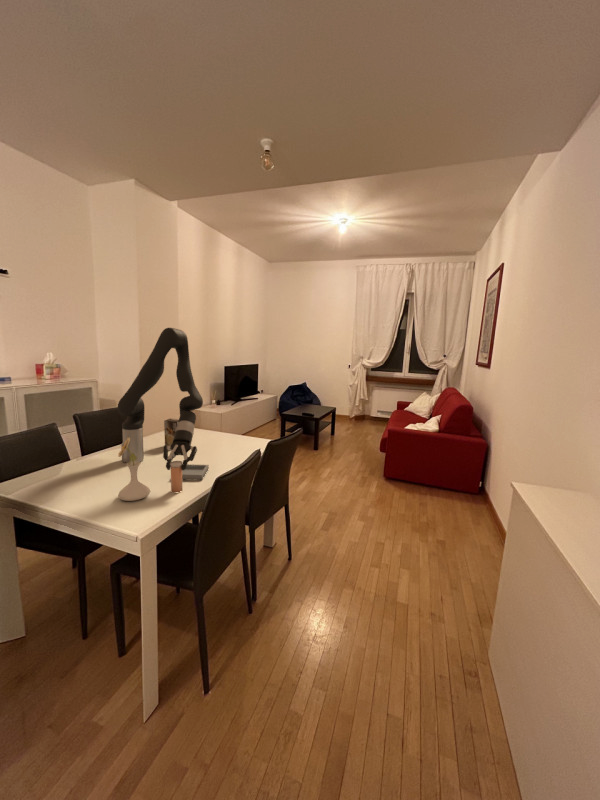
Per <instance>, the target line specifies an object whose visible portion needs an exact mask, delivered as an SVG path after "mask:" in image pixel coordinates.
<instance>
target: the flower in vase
mask: <svg viewBox="0 0 600 800" xmlns="http://www.w3.org/2000/svg"><path fill="white" fill-rule="evenodd" d="M129 441H130V437H129V439H128V438H127V441H126V440H125V443H124V446H122V447H121V446H120V447H121V448H120V451H119V452H118V457H119V458H120V457H121V458H122V454H123V453H124V451H125V450H126V449H128V447H127V446H128V444H129ZM121 449H122V450H121ZM128 450H129V449H128ZM129 452H130V450H129ZM130 454H131V455H130V457H129V458H130V459H131V461H130V462H129V463H125V464H126V467H128V469H129V473H130V481H129V482H128V484H127V485H125V486H124V487H123V488H122V489H121V490H119V492H118V494H117V497H118V498H119V499H120V500H122V501H129V502H131V501H132V502H133V501H134V502H135V501H139V500H141V499H144V498H146V497H148V496H149V495H150V493H151V489H150V487H148V486H147V485H146V484H145V483H142V482H140V481H139V479H138V469H139V467H140V465H141V462H142V461H141V462H138V461H135V460H136V459H137V457H136V456H135V455H134V453H131V452H130ZM132 461H133V462H132Z"/></svg>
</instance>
